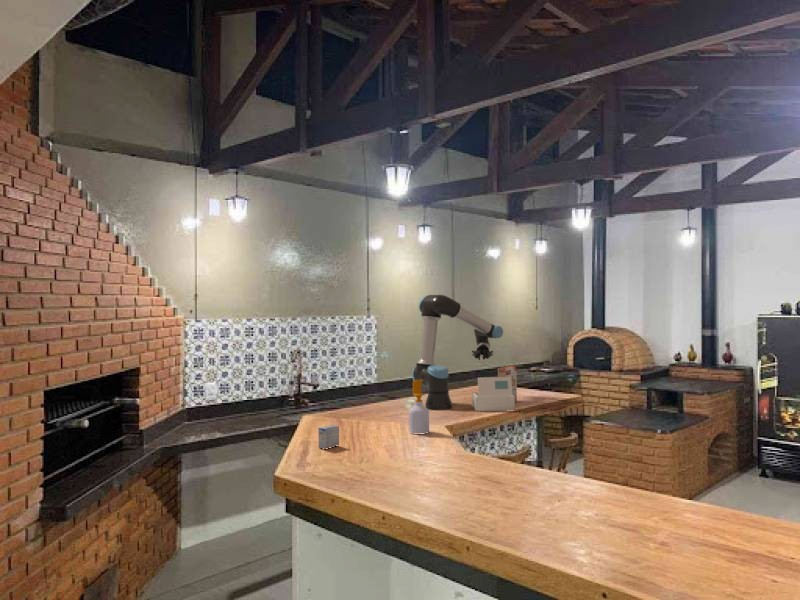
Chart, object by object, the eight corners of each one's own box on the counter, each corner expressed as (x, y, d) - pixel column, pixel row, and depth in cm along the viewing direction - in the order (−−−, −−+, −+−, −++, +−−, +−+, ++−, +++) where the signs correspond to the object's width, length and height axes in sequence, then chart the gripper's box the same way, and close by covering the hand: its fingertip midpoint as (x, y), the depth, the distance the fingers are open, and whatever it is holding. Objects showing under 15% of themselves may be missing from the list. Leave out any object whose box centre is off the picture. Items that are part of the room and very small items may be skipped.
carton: (476, 411, 315) (476, 396, 315) (472, 406, 331) (471, 392, 332) (515, 410, 315) (515, 396, 315) (509, 405, 332) (508, 391, 332)
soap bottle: (412, 435, 261) (412, 381, 261) (407, 431, 270) (406, 378, 270) (431, 434, 263) (430, 380, 263) (425, 429, 272) (424, 377, 272)
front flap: (478, 396, 315) (478, 395, 314) (477, 377, 317) (477, 377, 317) (512, 395, 315) (512, 395, 314) (511, 377, 318) (511, 376, 317)
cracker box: (506, 404, 335) (506, 368, 335) (497, 403, 338) (496, 368, 339) (517, 401, 346) (517, 366, 346) (508, 400, 350) (507, 365, 350)
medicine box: (332, 444, 246) (331, 424, 246) (339, 446, 243) (339, 425, 243) (318, 448, 240) (318, 427, 240) (325, 450, 237) (325, 429, 237)
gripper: (493, 356, 352) (492, 366, 329) (472, 356, 354) (469, 365, 331) (493, 344, 351) (492, 353, 328) (472, 344, 353) (469, 353, 330)
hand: (481, 359), depth 330 cm, fingers closed
